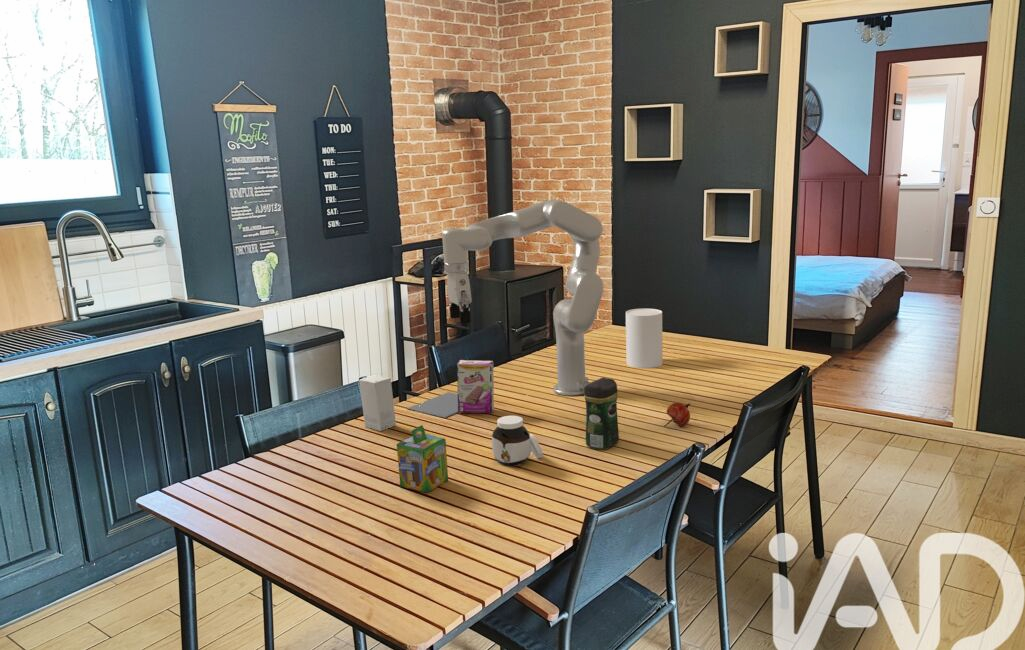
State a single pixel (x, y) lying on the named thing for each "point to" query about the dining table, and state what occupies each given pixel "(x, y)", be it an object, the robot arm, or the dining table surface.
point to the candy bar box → (475, 386)
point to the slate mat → (439, 405)
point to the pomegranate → (679, 414)
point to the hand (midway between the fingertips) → (460, 320)
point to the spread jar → (513, 442)
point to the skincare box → (377, 402)
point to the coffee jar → (601, 413)
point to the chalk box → (422, 461)
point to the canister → (644, 338)
